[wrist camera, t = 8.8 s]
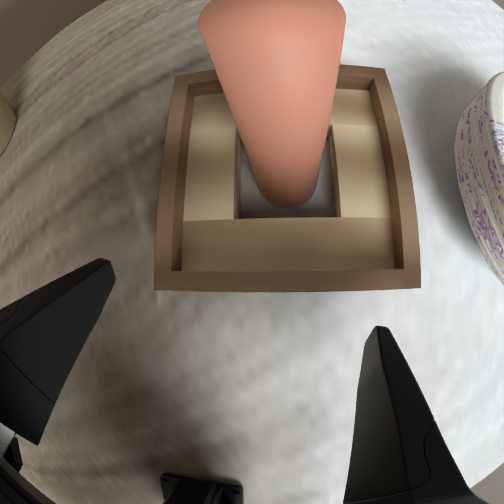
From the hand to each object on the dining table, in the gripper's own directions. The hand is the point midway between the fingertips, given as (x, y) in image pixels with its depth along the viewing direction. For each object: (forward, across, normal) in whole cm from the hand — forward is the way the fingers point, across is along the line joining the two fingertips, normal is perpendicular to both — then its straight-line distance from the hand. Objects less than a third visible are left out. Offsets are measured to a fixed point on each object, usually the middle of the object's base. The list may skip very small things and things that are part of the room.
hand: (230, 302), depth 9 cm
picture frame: (+12, 0, +1) cm, 12 cm away
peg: (+12, 0, +1) cm, 12 cm away
